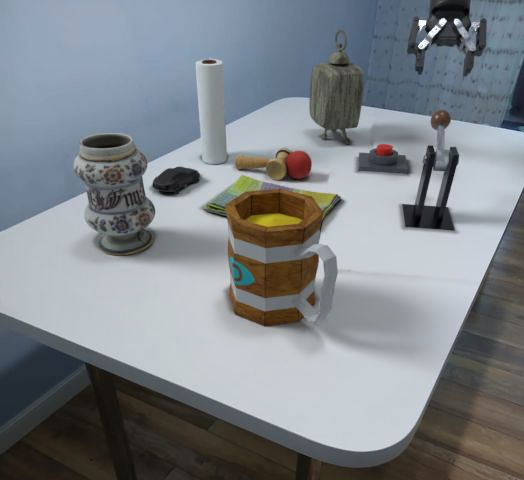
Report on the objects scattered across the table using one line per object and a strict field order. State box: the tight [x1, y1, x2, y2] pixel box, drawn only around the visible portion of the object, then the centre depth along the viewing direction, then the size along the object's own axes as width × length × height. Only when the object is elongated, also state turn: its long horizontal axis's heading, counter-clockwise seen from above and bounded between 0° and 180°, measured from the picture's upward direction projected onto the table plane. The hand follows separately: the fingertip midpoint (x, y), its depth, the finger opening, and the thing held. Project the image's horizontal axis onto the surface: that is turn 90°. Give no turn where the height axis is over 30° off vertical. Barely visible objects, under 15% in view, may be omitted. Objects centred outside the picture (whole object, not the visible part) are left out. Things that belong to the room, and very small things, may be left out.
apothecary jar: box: [73, 132, 156, 256], centre depth 84 cm, size 12×12×18 cm
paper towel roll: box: [194, 57, 228, 165], centre depth 114 cm, size 7×6×21 cm
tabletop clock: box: [308, 28, 365, 145], centre depth 125 cm, size 14×9×25 cm, turn 14°
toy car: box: [151, 166, 201, 194], centre depth 108 cm, size 6×12×4 cm, turn 149°
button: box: [376, 143, 394, 156], centre depth 114 cm, size 4×4×2 cm
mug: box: [225, 189, 339, 327], centre depth 70 cm, size 20×14×15 cm
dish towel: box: [202, 174, 342, 222], centre depth 100 cm, size 18×24×3 cm
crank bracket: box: [401, 144, 460, 232], centre depth 92 cm, size 10×9×14 cm
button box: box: [357, 147, 409, 175], centre depth 116 cm, size 11×9×4 cm
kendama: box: [234, 147, 313, 181], centre depth 113 cm, size 8×6×18 cm
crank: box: [430, 109, 452, 172], centre depth 91 cm, size 13×4×4 cm, turn 171°
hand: (443, 73), depth 95 cm, fingers open, 8 cm apart
